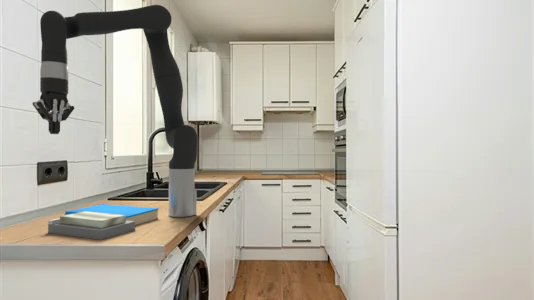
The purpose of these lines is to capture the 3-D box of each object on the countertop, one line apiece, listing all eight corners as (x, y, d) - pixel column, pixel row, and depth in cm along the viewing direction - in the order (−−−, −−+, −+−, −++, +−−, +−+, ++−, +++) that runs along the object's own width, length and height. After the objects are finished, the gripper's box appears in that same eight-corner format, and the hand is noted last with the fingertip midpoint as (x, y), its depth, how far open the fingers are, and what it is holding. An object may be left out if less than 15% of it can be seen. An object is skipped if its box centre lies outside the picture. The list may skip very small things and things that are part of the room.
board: (85, 224, 115) (85, 212, 115) (135, 229, 108) (135, 217, 108) (48, 232, 103) (48, 220, 103) (100, 239, 96) (101, 226, 96)
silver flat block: (85, 217, 112) (85, 211, 112) (125, 221, 106) (125, 215, 106) (59, 223, 104) (59, 216, 104) (101, 227, 98) (101, 220, 98)
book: (102, 204, 134) (158, 207, 126) (102, 215, 134) (159, 219, 126) (63, 211, 118) (125, 215, 110) (63, 224, 118) (125, 229, 110)
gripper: (42, 73, 103) (42, 133, 104) (81, 81, 116) (81, 134, 116) (25, 75, 106) (25, 133, 106) (64, 82, 119) (64, 134, 119)
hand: (54, 134), depth 111 cm, fingers closed
